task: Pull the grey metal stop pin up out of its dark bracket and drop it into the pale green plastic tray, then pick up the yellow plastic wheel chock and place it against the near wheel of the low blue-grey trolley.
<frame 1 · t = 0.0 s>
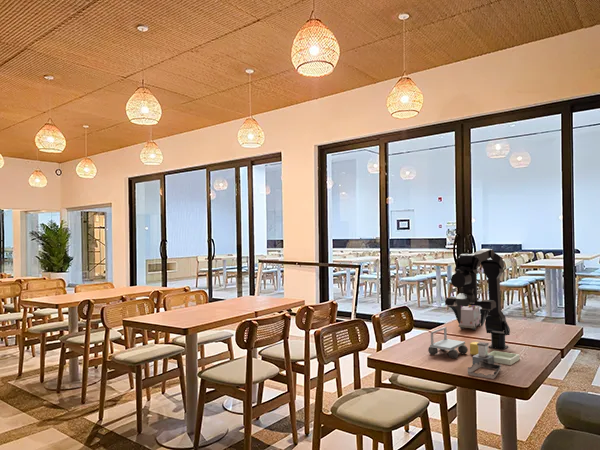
hand: (470, 324, 183), 15 cm above the table, tool pointing down, fingers open, 9 cm apart
toy vehicle: (470, 328, 246), on the table
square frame: (486, 374, 168), on the table
trolley: (448, 354, 194), on the table
stop pin: (483, 364, 179), resting in pin bracket
tray: (502, 360, 184), on the table
wheel chock: (478, 354, 193), on the table
pin bracket: (483, 363, 179), on the table
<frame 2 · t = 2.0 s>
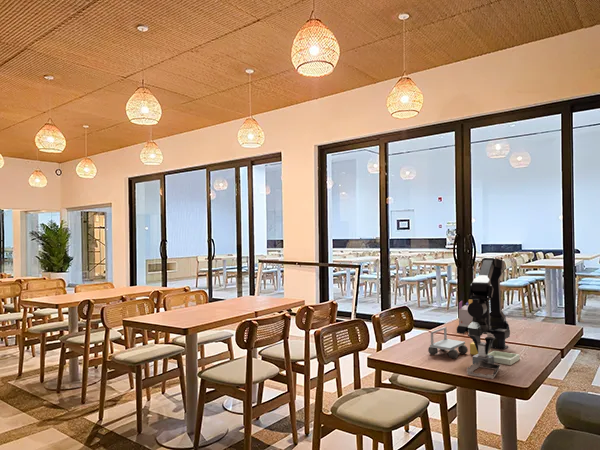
hand: (483, 353, 179), 4 cm above the table, tool pointing down, fingers closed on stop pin, 3 cm apart
stop pin: (483, 364, 179), resting in pin bracket, touching gripper
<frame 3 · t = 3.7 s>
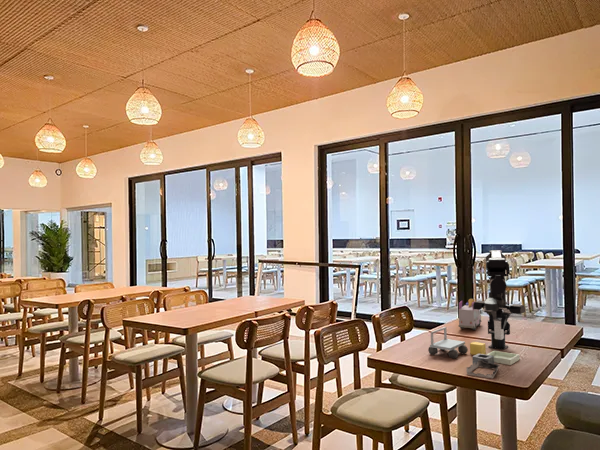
hand: (499, 328, 184), 13 cm above the table, tool pointing down, fingers closed on stop pin, 3 cm apart
stop pin: (499, 338, 184), point 9 cm above the table, touching gripper
everything else where it was.
when the fingers open (6 cm above the table, at t = 5.3 s): stop pin drops 1 cm, resting on tray.
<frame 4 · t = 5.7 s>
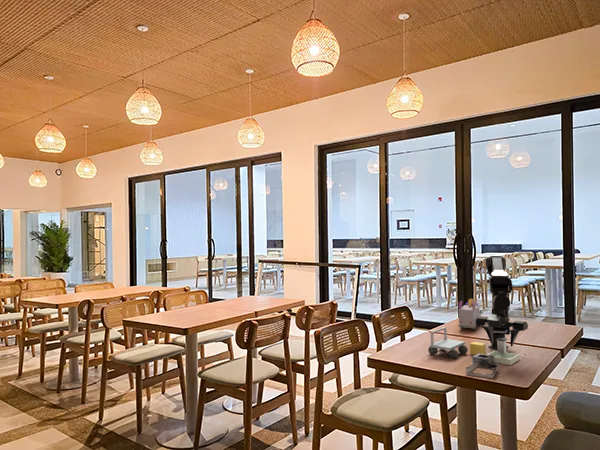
hand: (501, 344, 184), 6 cm above the table, tool pointing down, fingers open, 7 cm apart
stop pin: (502, 358, 184), resting on tray
everything else where it was.
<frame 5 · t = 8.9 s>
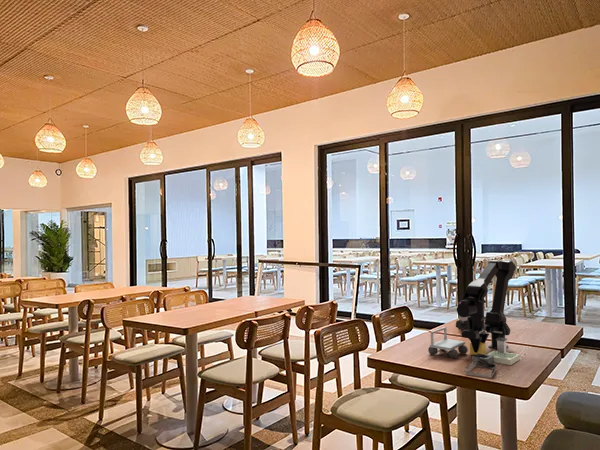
hand: (478, 351, 194), 1 cm above the table, tool pointing down, fingers closed on wheel chock, 4 cm apart
wheel chock: (478, 354, 193), on the table, touching gripper
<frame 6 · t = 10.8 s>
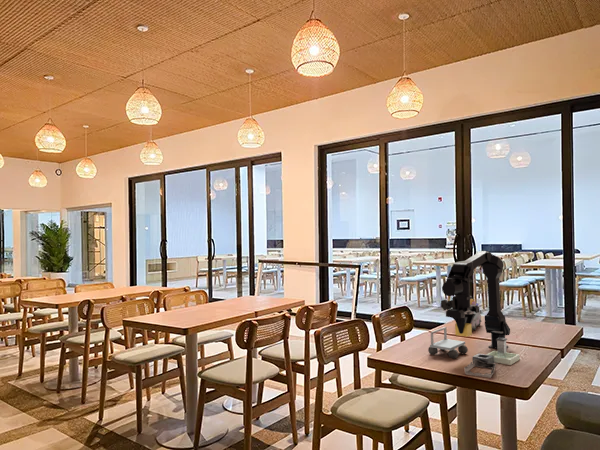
hand: (463, 332, 185), 11 cm above the table, tool pointing down, fingers closed on wheel chock, 4 cm apart
wheel chock: (463, 335, 185), point 10 cm above the table, touching gripper
when the fingers open (2 cm above the table, at t = 12.6 s): wheel chock drops 2 cm, on the table.
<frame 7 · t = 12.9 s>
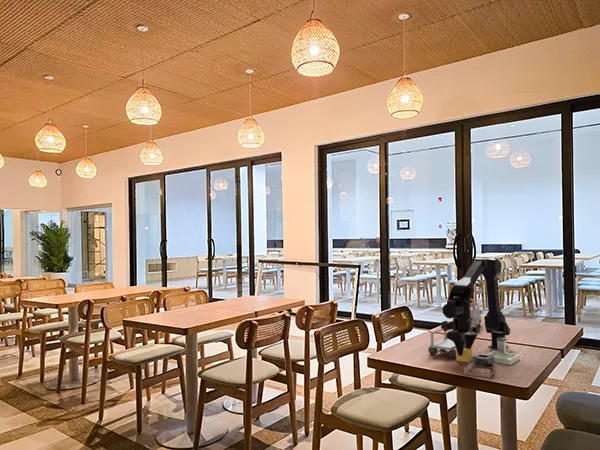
hand: (464, 353, 185), 2 cm above the table, tool pointing down, fingers open, 7 cm apart
wheel chock: (464, 360, 185), on the table
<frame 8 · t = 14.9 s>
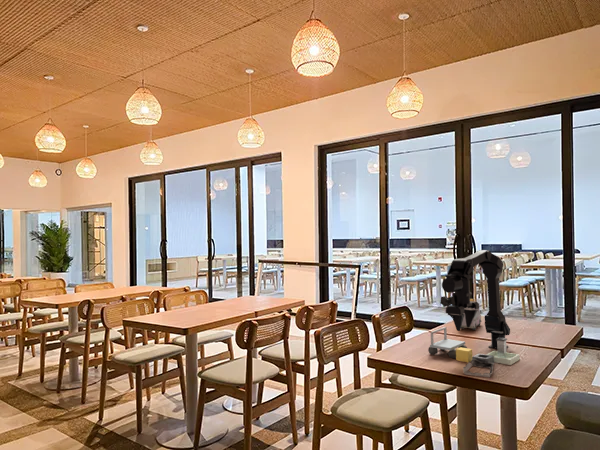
hand: (463, 329, 185), 12 cm above the table, tool pointing down, fingers open, 9 cm apart
at the end: wheel chock 0.9 cm from the target spot on the table beside the trolley, on the table; stop pin inside the target area on the tray (0.0 cm from its centre), point 0.5 cm above the tray's base; the gripper is holding nothing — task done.
